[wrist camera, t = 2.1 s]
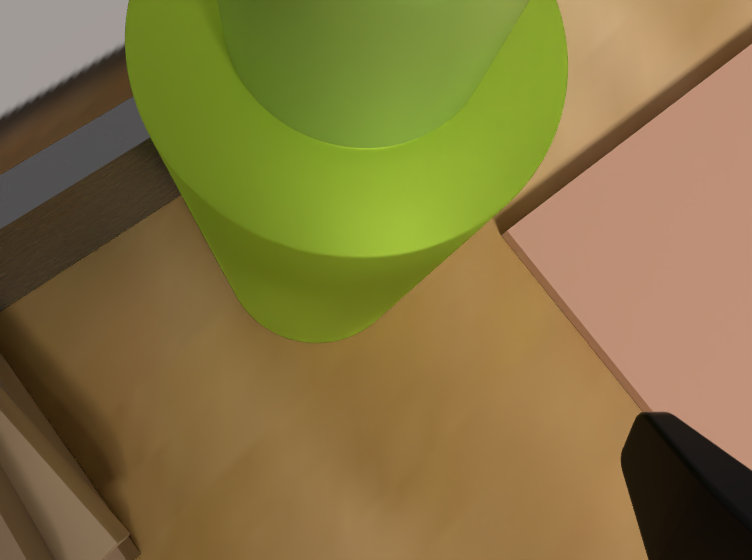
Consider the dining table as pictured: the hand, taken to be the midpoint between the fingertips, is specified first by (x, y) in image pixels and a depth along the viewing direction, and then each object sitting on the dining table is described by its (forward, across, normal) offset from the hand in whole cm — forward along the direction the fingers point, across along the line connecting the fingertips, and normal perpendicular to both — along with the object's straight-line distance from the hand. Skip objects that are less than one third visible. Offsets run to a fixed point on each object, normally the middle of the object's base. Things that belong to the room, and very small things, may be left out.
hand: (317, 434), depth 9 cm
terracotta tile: (+12, -16, +5) cm, 21 cm away
